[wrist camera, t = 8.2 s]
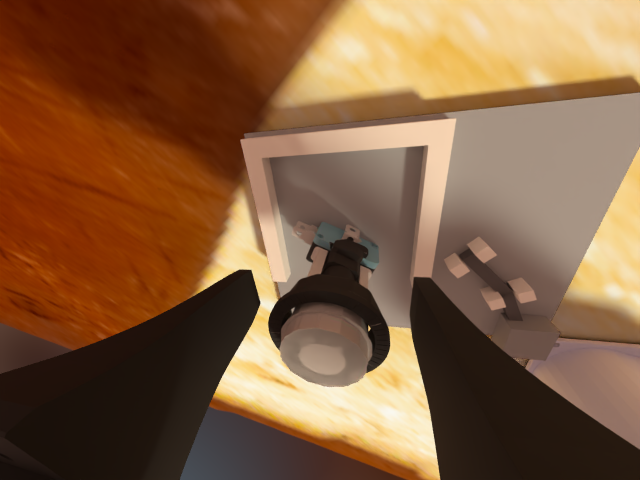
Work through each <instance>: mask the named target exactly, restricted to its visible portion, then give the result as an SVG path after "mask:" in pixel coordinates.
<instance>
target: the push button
mask: <svg viewBox="0 0 640 480" xmlns="http://www.w3.org/2000/svg"><path fill="white" fill-rule="evenodd" d="M301 225H302V226H304V227H305V229H301V228H300V226H301ZM350 229H353V230H355V232H353V231H351V230H350ZM297 231H299V232H302V234H301V235H298V234H297ZM292 235H293V236H295V237H297V238H300V239H302V240H304V243H307V244H309V245H311V247H310V249H309V252H308V254H307V256H306V259H307V261H309V262H311V263H313V264H312V266H311V268H310V271H309V273H308V276H307V277H305V278H302V279H300V280H299V281H298V282H297V283H296V284H295V286H294V287H293V288H292V289H291V290H290V292H288V293H286V294H285V295H283V296H282V297H281V298H280V299H279V300H278V301H277V303H276V304H275V306H274V308H273V310H272V312H271V314H270V317H269V322H268V327H269V333H270V336H271V338H272V340H273V342H274V344H275V345H276V347H277V348H278V349H279V350H280V353H281V358H282V361H283V362H284V363H285V364H286V365H287V367H288V368H289V369H290V371H292V372H293V373H294V374H296V375H298V376H299V377H301V378H303V379H304V380H306V381H308V382H312V383H315V384H319V385H322V386H327V387H344V386H349V385H350V384H353V383H356V382H358V381H359V380H360V379H361V378H363V376H364V374H365V373H368V372H370V371H372V370H374V369H375V368H377V367H378V366H379V365H380V364H381V363H382V362H383V361H384V360H385V359H386V357H387V355H388V352H389V349H390V335H389V329H388V326H387V323H386V321H385V319H384V317H383V315H382V313H381V311H380V309H379V307H378V305H377V303H376V301H375V299H374V297H373V295H372V293H371V292H370V291H369V290H368V281H369V279H370V278H371V275H372V273H373V272H374V270H375V269H376V267H377V265H378V264H379V247H378V245H376V244H375V243H372V242H369V241H367V240H365V239H362V238H360V237H359V235H360V230H359V229H357V228H355V227H353V226H350V225H346V228H345V231H344V230H342V229H340V228H337V227H335V226H333V225H330V224H328V223H326V222H322V223H321V225H320V227H319V228H318V227H316V226H314V225H312V226H309V225H307V224H305V223H302V222H300V221H298V222H297V224H296V226H294V228H293V231H292ZM294 307H295V308H294ZM293 308H294V311H293V313H292V310H291V309H293ZM368 325H369V326H370V328H371V329H370V331H369V332H368Z"/></svg>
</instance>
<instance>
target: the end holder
mask: <svg viewBox="0 0 640 480" xmlns="http://www.w3.org/2000/svg"><path fill="white" fill-rule="evenodd" d="M455 124H456V118H448V119H438V120H428V121H418V122H407V123H397V124H387V125H377V126H367V127H357V128H347V129H336V130H326V131H316V132H306V133H296V134H286V135H276V136H265V137H255V138H247V139H240V141H241V145H242V149H243V154H244V158H245V162H246V167H247V171H248V175H249V179H250V184H251V188H252V192H253V197H254V201H255V205H256V210H257V214H258V218H259V222H260V227H261V231H262V235H263V240H264V244H265V248H266V253H267V257H268V261H269V265H270V270H271V274H272V278H273V281H274V282H287V280H288V278H289V276H290V274H291V272H290V267H289V261H288V256H287V251H286V245H285V240H284V235H283V229H282V224H281V218H280V213H279V208H278V202H277V197H276V191H275V186H274V181H273V175H272V170H271V164H270V159H269V157H282V156H295V155H308V154H321V153H334V152H347V151H360V150H373V149H386V148H399V147H412V146H424V149H423V158H422V168H421V177H420V187H419V196H418V206H417V215H416V225H415V234H414V244H413V253H412V262H411V272H410V281H411V286H412V288H413V279H414V277H430V278H431V276H432V270H433V263H434V257H435V251H436V244H437V238H438V232H439V225H440V219H441V213H442V206H443V200H444V194H445V188H446V181H447V175H448V169H449V162H450V156H451V150H452V143H453V137H454V131H455Z"/></svg>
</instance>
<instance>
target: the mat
mask: <svg viewBox="0 0 640 480" xmlns="http://www.w3.org/2000/svg"><path fill="white" fill-rule="evenodd" d="M448 118H456V124H455V131H454V137H453V143H452V150H451V156H450V162H449V169H448V175H447V181H446V188H445V194H444V200H443V206H442V213H441V219H440V225H439V232H438V238H437V244H436V251H435V257H434V263H433V270H432V276H431V279H432V280H433V281H434V282H435V283H436V284H437V285H438V287H439V288H440V289H441V290H442V291H443V292H444V293H445V294H446V295H447V297H448V298H449V299H450V300H451V301H452V302H453V303H454V304H455V305H456V306H457V307H458V308H459V309H460V310H461V311H462V312H463V313H464V315H465V316H466V317H467V318H468V319H469V320H470V321H471V322H472V323H473V324H474V325H476V326H477V327H478V328H479V329H480V330H481V331H482V332H483V333H484V334H486V335H493V332H494V330H495V327H496V324H497V321H498V319H499V316H500V313H505V312H504V310H503V308H500V309H496V310H491V309H490V307H489V305H488V304H487V302H486V301H485V299H484V297H483V295H482V293H481V290H480V289H481V288H485V287H488V286H489V285H488V284H487V283H486V282H485V281H484V280H483V279H482V278H481V277H480V276H478V275H477V274H476V273H475V272H474V271H473V270H472V269H471V268H470V267H469V266H468V265H467V264H466V263H465V262H464V263H465V264H466V266H467V267H468V269H469V270H470V272H468V273H466V274H465V275H463V276H461V277H460V278H457V277H456V276H455V275H454V274H453V273H451V272H450V271H449V269H448V267H447V265H446V263H445V261H444V259H445V258H447V257H448V256H450V255H451V254H453V253H456V254H457V255H458V256H459V255H460V254H461V253H463V252H464V251H466V250H467V249H469V247H468V245H467V244H468V243H470V242H471V241H473V240H474V239H476V238H477V237H480V238H481V239H482V240H483V241H484V242H485V243H486V244H487V245H488V246H489V247H490V248H491V249H492V250H493V251H494V252H495V253H496V254H497V256H495V257H493V258H492V259H490V260H488V261H487V262H485V264H486V265H487V266H488V267H489V268H490V269H491V270H492V271H493V272H494V273H495V274H496V275H497V276H498V277H499V278H501V279H502V280H503V281H504V282H505V283H506V284H507V285H508V283H507V281H510V280H514V279H518V278H521V277H522V278H523V279H524V281H525V282H526V283H527V284H528V285H529V286H530V287H531V288H532V289H533V290H534V293H535V296H536V299H537V300H534V301H530V302H526V303H520V302H519V301H518V299H517V298H516V297H515V299H516V302H517V305H518V308H519V311H520V313H521V314H522V315H537V316H546V317H547V318H548V319H549V320H550V322H551V320H552V318H553V316H554V314H555V313H556V311H557V309H558V307H559V305H560V303H561V301H562V299H563V297H564V295H565V293H566V291H567V289H568V287H569V285H570V283H571V281H572V279H573V277H574V275H575V273H576V271H577V269H578V267H579V265H580V263H581V261H582V259H583V257H584V255H585V253H586V251H587V249H588V248H589V246H590V244H591V242H592V240H593V238H594V236H595V234H596V232H597V230H598V228H599V226H600V224H601V222H602V220H603V218H604V216H605V214H606V212H607V210H608V208H609V206H610V204H611V202H612V200H613V198H614V196H615V194H616V192H617V190H618V188H619V186H620V185H621V183H622V181H623V179H624V177H625V175H626V173H627V171H628V169H629V167H630V165H631V163H632V161H633V159H634V157H635V155H636V153H637V151H638V149H639V147H640V92H639V93H630V94H620V95H610V96H601V97H591V98H582V99H572V100H562V101H553V102H543V103H533V104H524V105H514V106H505V107H495V108H485V109H476V110H466V111H456V112H447V113H437V114H428V115H418V116H408V117H399V118H389V119H379V120H370V121H360V122H351V123H341V124H331V125H322V126H312V127H302V128H293V129H283V130H274V131H264V132H254V133H246V134H244V136H245V139H247V138H255V137H265V136H276V135H286V134H296V133H306V132H316V131H326V130H336V129H347V128H357V127H367V126H377V125H387V124H397V123H407V122H418V121H428V120H438V119H448ZM423 149H424V146H412V147H399V148H386V149H373V150H360V151H347V152H334V153H321V154H308V155H295V156H282V157H269V159H270V164H271V170H272V175H273V181H274V186H275V191H276V197H277V202H278V208H279V213H280V218H281V224H282V229H283V235H284V240H285V245H286V251H287V256H288V261H289V267H290V272H291V274H290V276H289V278H288V280H287V282H277V284H278V288H279V293H280V297H282V296H283V295H285V294H286V293H288V292H290V290H291V289H292V288H293V287H294V286H295V284H296V283H297V282H298V281H299V280H300V279H302V278H305V277H307V276H308V273H309V271H310V268H311V266H312V264H313V263H311V262H309V261H307V259H306V256H307V254H308V252H309V249H310V247H311V245H309V244H307V243H304V240H302V239H300V238H297V237H295V236H293V235H292V231H293V228H294V226H296V224H297V222H298V221H300V222H302V223H305V224H307V225H309V226H312V225H314V226H316V227H318V228H319V227H320V225H321V223H322V222H326V223H328V224H330V225H333V226H335V227H337V228H340V229H342V230H344V231H345V228H346V225H350V226H353V227H355V228H357V229H359V230H360V235H359V237H360V238H362V239H365V240H367V241H369V242H372V243H375V244H376V245H378V247H379V264H378V265H377V267H376V269H375V270H374V272H373V273H372V275H371V278H370V279H369V281H368V290H369V291H370V292H371V293H372V295H373V297H374V299H375V301H376V303H377V305H378V307H379V309H380V311H381V313H382V315H383V317H384V319H385V321H386V323H387V326H391V327H403V328H411V323H410V315H409V314H410V305H411V296H412V286H411V281H410V272H411V262H412V253H413V244H414V234H415V225H416V215H417V206H418V196H419V187H420V177H421V168H422V158H423ZM300 228H301V229H305V227H304V226H302V225H301V226H300ZM350 230H351V231H353V232H355V230H353V229H350ZM297 234H298V235H301V234H302V232H299V231H297ZM459 257H460V256H459ZM460 258H461V257H460ZM294 308H295V307H294ZM294 308H293V309H291V310H292V313H293V311H294Z"/></svg>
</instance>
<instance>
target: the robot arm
mask: <svg viewBox="0 0 640 480" xmlns="http://www.w3.org/2000/svg"><path fill="white" fill-rule="evenodd" d="M259 306H260V300H259V296H258V292H257V289H256V285H255V282H254V278H253V274H252V271H251V270H238V271H236V272H234V273H232V274H230V275H228V276H227V277H225V278H223V279H222V280H220V281H218V282H217V283H215V284H213V285H212V286H210V287H208V288H207V289H205V290H203V291H202V292H200V293H198V294H197V295H195V296H193V297H191V298H189V299H188V300H186V301H184V302H182V303H181V304H179V305H177V306H175V307H173V308H172V309H170V310H168V311H166V312H164V313H162V314H160V315H158V316H156V317H154V318H152V319H150V320H148V321H146V322H143V323H141V324H139V325H137V326H135V327H132V328H130V329H127V330H125V331H123V332H120V333H118V334H116V335H113V336H111V337H108V338H106V339H104V340H101V341H98V342H96V343H93V344H90V345H88V346H85V347H82V348H79V349H77V350H74V351H71V352H68V353H65V354H63V355H59V356H57V357H54V358H50V359H47V360H44V361H41V362H38V363H34V364H31V365H28V366H25V367H21V368H18V369H15V370H12V371H9V372H5V373H2V374H0V480H180V477H181V474H182V471H183V469H184V466H185V463H186V460H187V458H188V455H189V453H190V450H191V448H192V445H193V443H194V440H195V437H196V435H197V432H198V430H199V427H200V425H201V423H202V420H203V418H204V416H205V413H206V411H207V409H208V406H209V404H210V402H211V400H212V397H213V395H214V393H215V391H216V389H217V387H218V384H219V382H220V380H221V378H222V376H223V374H224V372H225V370H226V368H227V367H228V365H229V363H230V361H231V360H232V358H233V356H234V355H235V353H236V351H237V349H238V348H239V346H240V344H241V342H242V341H243V339H244V337H245V335H246V334H247V332H248V330H249V328H250V327H251V325H252V323H253V321H254V318H255V316H256V314H257V311H258V308H259ZM409 315H410V323H411V331H412V338H413V343H414V347H415V351H416V355H417V359H418V363H419V367H420V371H421V375H422V379H423V383H424V387H425V391H426V395H427V399H428V404H429V409H430V414H431V421H432V427H433V433H434V439H435V446H436V453H437V459H438V466H439V473H440V480H640V345H639V344H627V343H615V342H603V341H590V340H578V339H566V338H558V339H557V341H556V343H555V345H554V346H553V348H552V350H551V352H550V354H549V355H548V357H547V359H546V361H543V360H533V359H530V360H529V362H528V364H527V366H526V368H524V367H523V366H522V365H520V364H519V363H518V362H517V361H515V360H514V359H513V358H512V357H511V356H509V355H508V354H507V353H506V352H504V351H503V350H502V349H501V348H500V347H499V346H497V345H496V344H495V343H494V342H493V341H492V340H491V339H489V338H488V337H487V336H486V335H485V334H484V333H483V332H482V331H481V330H480V329H479V328H478V327H477V326H476V325H474V324H473V323H472V322H471V321H470V320H469V319H468V318H467V317H466V316H465V315H464V313H463V312H462V311H461V310H460V309H459V308H458V307H457V306H456V305H455V304H454V303H453V302H452V301H451V300H450V299H449V298H448V297H447V295H446V294H445V293H444V292H443V291H442V290H441V289H440V288H439V287H438V285H437V284H436V283H435V282H434V281H433V280H432V279H431V278H430V277H414V279H413V288H412V296H411V305H410V314H409Z"/></svg>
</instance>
